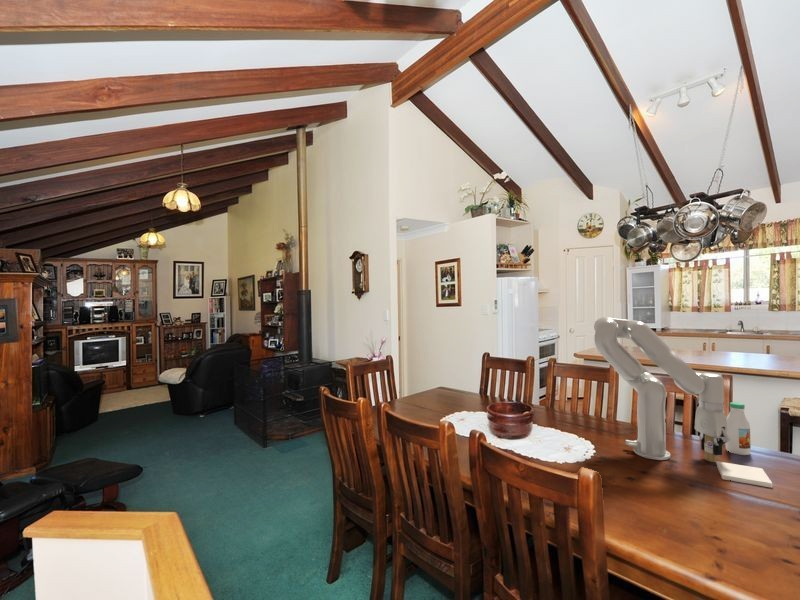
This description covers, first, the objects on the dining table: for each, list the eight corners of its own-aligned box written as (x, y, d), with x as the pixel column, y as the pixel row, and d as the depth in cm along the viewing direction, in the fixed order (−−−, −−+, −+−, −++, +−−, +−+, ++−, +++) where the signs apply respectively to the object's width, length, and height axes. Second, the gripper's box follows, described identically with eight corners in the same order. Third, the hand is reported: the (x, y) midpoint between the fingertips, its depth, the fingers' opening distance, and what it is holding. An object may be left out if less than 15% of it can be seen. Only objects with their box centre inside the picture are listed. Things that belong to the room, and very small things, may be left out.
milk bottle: (730, 454, 156) (729, 405, 156) (722, 447, 163) (721, 400, 163) (754, 456, 153) (753, 406, 153) (745, 449, 160) (744, 401, 160)
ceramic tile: (722, 479, 136) (722, 474, 136) (716, 465, 147) (716, 461, 147) (772, 487, 129) (772, 483, 129) (762, 472, 140) (762, 468, 140)
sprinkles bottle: (703, 460, 151) (703, 426, 150) (704, 456, 154) (704, 423, 154) (719, 463, 148) (719, 428, 147) (719, 459, 151) (719, 425, 151)
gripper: (684, 400, 159) (684, 444, 159) (722, 412, 142) (723, 461, 142) (700, 399, 160) (701, 443, 160) (741, 411, 143) (741, 460, 143)
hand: (711, 451), depth 151 cm, fingers closed on sprinkles bottle, 4 cm apart
